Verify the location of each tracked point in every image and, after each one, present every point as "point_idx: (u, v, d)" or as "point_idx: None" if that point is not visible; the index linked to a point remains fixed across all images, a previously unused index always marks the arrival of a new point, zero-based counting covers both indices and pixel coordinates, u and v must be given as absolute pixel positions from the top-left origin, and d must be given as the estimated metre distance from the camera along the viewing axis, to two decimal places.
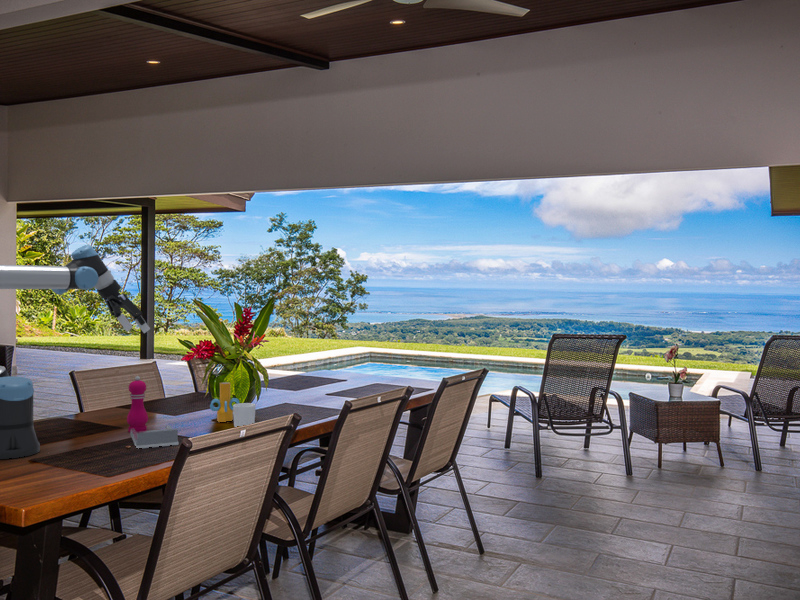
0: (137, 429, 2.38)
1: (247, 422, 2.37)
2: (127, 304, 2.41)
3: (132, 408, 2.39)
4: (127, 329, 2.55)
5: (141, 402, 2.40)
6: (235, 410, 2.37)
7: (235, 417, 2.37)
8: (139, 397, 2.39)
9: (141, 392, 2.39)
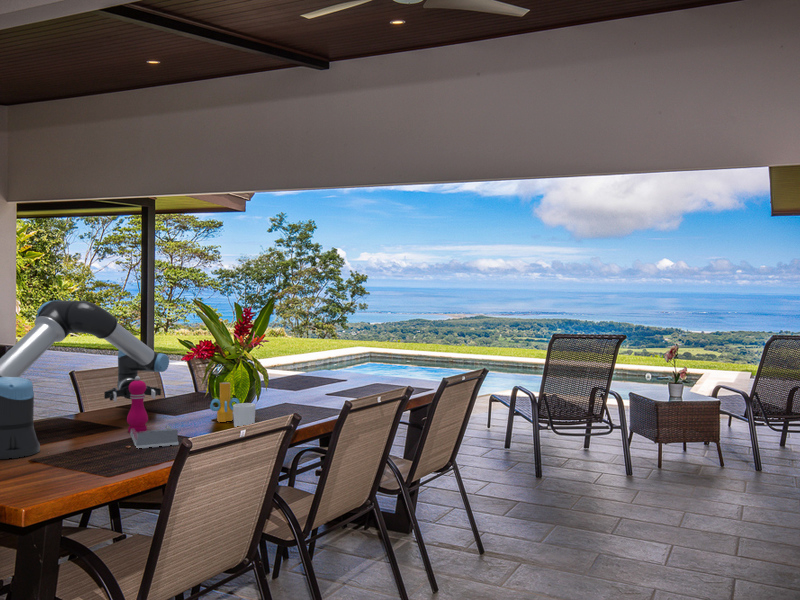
0: (137, 429, 2.38)
1: (247, 422, 2.37)
2: None
3: (132, 408, 2.39)
4: None
5: (141, 402, 2.40)
6: (235, 410, 2.37)
7: (235, 417, 2.37)
8: (139, 397, 2.39)
9: (141, 392, 2.39)
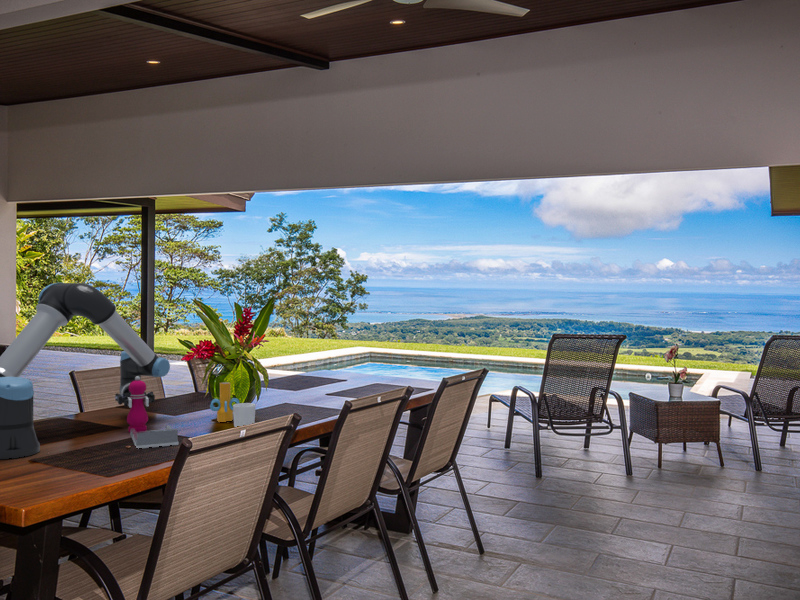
0: (137, 429, 2.38)
1: (247, 422, 2.37)
2: (152, 394, 2.50)
3: (132, 408, 2.39)
4: None
5: (141, 402, 2.40)
6: (235, 410, 2.37)
7: (235, 417, 2.37)
8: (139, 397, 2.39)
9: (141, 392, 2.39)
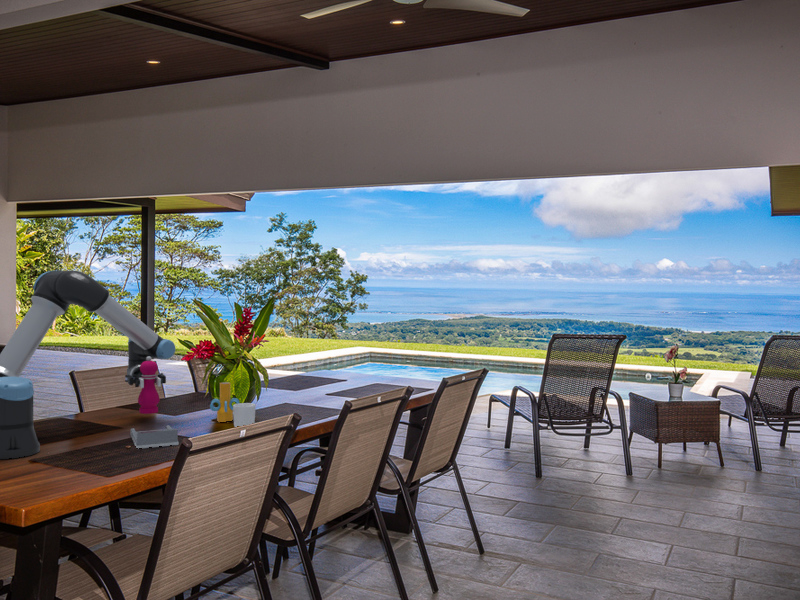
0: (148, 410, 2.34)
1: (247, 422, 2.37)
2: None
3: (143, 389, 2.35)
4: None
5: (153, 383, 2.36)
6: (235, 410, 2.37)
7: (235, 417, 2.37)
8: (151, 377, 2.35)
9: (153, 372, 2.35)
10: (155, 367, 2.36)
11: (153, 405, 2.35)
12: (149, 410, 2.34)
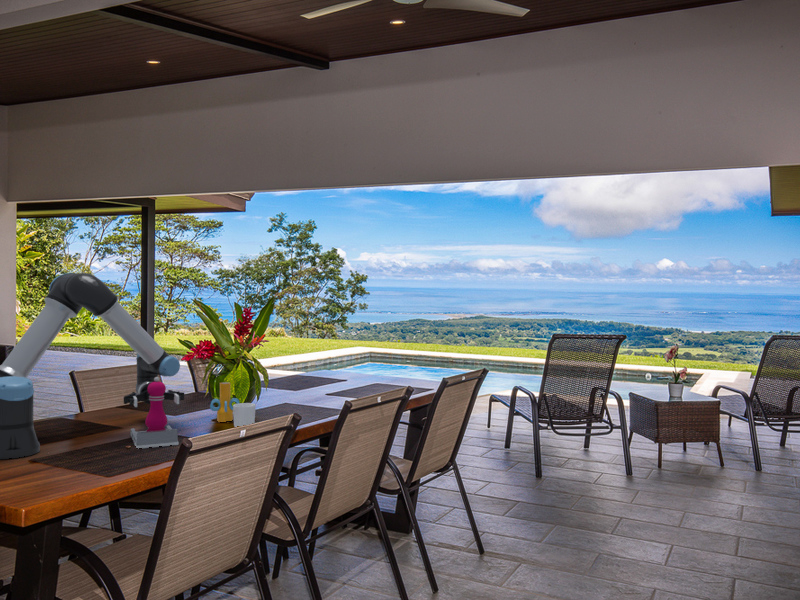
0: None
1: (247, 422, 2.37)
2: None
3: (151, 410, 2.29)
4: (137, 400, 2.26)
5: (160, 404, 2.30)
6: (235, 410, 2.37)
7: (235, 417, 2.37)
8: (158, 399, 2.29)
9: (160, 394, 2.30)
10: (163, 388, 2.30)
11: (160, 427, 2.30)
12: None
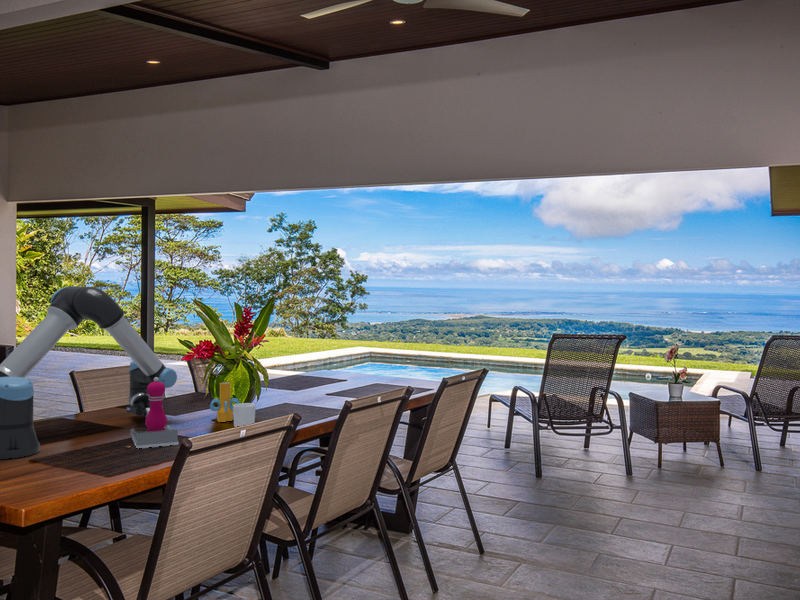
0: None
1: (247, 422, 2.37)
2: None
3: (151, 410, 2.29)
4: None
5: (160, 404, 2.30)
6: (235, 410, 2.37)
7: (235, 417, 2.37)
8: (158, 399, 2.29)
9: (160, 394, 2.30)
10: (162, 388, 2.30)
11: (160, 427, 2.29)
12: None
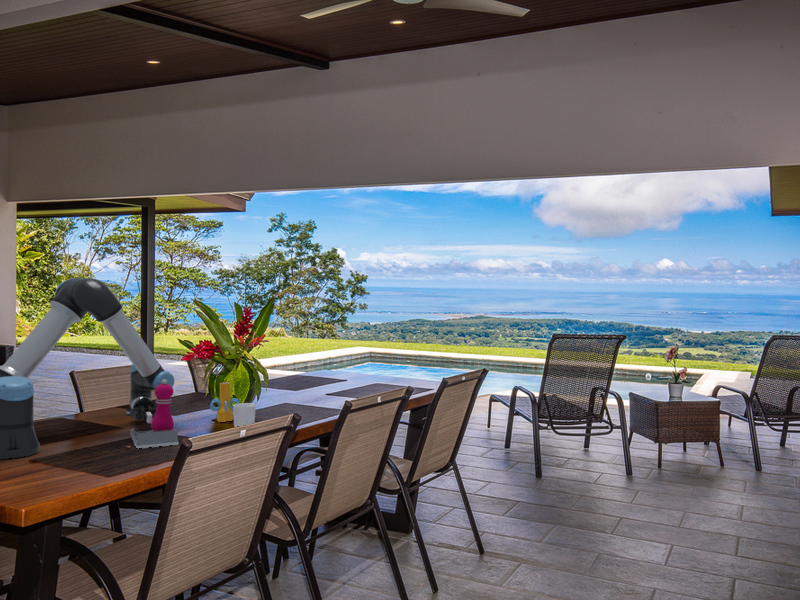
0: None
1: (247, 422, 2.37)
2: None
3: (163, 414, 2.23)
4: None
5: (169, 407, 2.26)
6: (235, 410, 2.37)
7: (235, 417, 2.37)
8: (170, 401, 2.25)
9: None
10: None
11: None
12: None
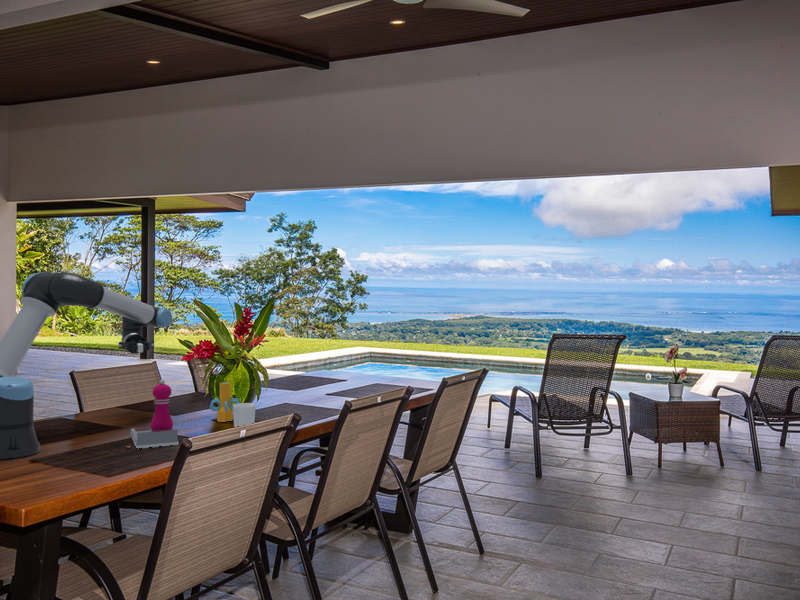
0: None
1: (247, 422, 2.37)
2: (151, 343, 2.53)
3: (161, 414, 2.23)
4: None
5: None
6: (235, 410, 2.37)
7: (235, 417, 2.37)
8: (168, 401, 2.25)
9: None
10: None
11: None
12: None
